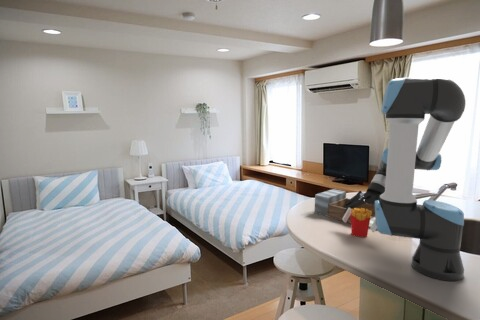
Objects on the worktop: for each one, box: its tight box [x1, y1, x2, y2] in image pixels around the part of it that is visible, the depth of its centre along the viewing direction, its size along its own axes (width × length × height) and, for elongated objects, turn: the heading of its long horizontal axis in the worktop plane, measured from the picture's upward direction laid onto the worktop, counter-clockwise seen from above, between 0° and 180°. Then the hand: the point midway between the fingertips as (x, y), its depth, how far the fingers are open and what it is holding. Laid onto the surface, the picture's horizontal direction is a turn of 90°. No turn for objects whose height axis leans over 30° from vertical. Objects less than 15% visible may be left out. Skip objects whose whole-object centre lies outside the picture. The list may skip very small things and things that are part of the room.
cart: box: [314, 188, 378, 231], centre depth 156 cm, size 18×34×10 cm, turn 41°
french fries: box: [350, 208, 372, 238], centre depth 133 cm, size 8×4×12 cm, turn 71°
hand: (357, 225), depth 132 cm, fingers open, 13 cm apart
